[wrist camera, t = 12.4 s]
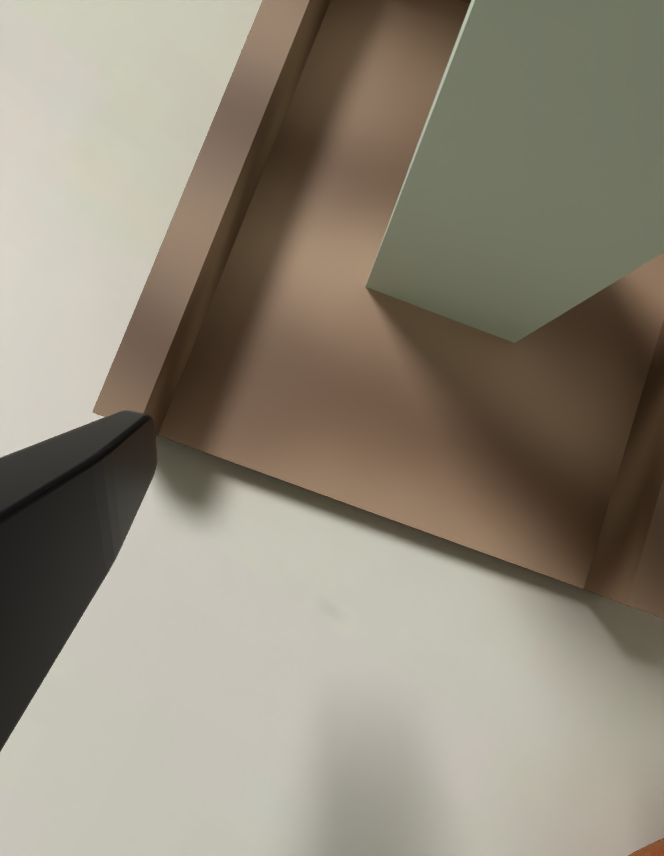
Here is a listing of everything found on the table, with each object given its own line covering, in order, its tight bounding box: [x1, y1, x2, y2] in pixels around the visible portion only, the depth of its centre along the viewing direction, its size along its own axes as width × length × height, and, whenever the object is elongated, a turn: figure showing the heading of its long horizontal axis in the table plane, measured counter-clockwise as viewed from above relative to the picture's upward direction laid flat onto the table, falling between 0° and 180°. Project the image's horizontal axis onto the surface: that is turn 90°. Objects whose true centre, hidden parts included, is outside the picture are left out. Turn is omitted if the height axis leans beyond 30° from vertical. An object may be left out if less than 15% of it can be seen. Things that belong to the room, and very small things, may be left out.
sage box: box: [365, 0, 664, 343], centre depth 11 cm, size 5×5×14 cm
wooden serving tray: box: [93, 0, 664, 618], centre depth 17 cm, size 18×16×3 cm
